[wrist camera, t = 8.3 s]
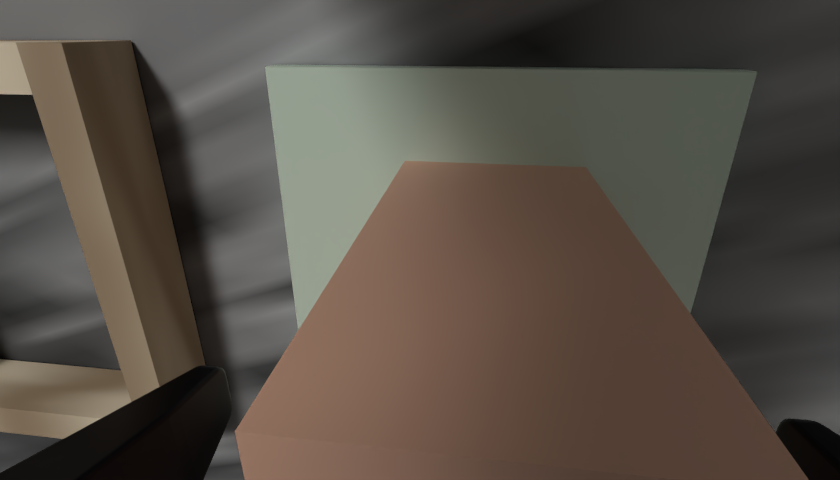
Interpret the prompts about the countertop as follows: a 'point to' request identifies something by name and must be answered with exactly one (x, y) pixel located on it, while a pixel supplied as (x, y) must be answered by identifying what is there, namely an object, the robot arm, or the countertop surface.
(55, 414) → the wooden frame
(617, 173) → the pad
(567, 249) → the part block
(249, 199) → the countertop surface
